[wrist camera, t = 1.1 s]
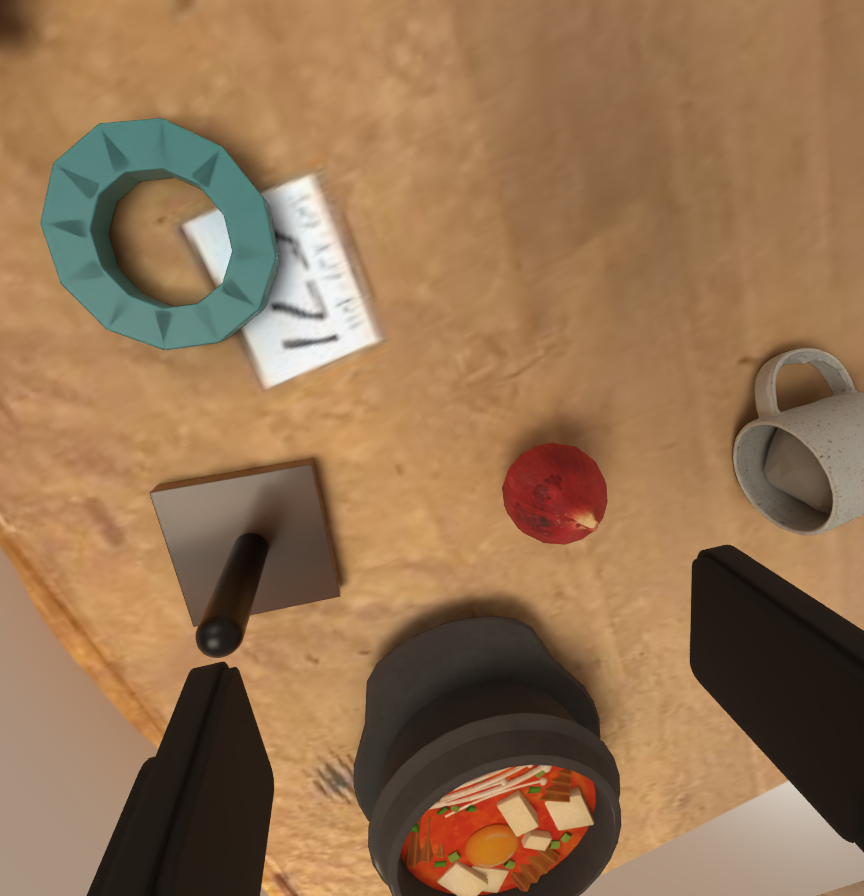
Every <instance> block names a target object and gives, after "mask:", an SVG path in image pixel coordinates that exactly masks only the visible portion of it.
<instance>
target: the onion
mask: <svg viewBox="0 0 864 896" xmlns="http://www.w3.org/2000/svg"><path fill="white" fill-rule="evenodd" d="M502 490H503V498H504V506H505V508H506V511H507V513H508V515H509V516H510V517H511V519H512V520H513V522H514V523H515V525H516V526H517V527H518V528H519V529H520V530H521V531H522V532H523V533H525V534H527V535H529V536H531V537H533V538H535V539H537V540H539V541H541V542H543V543H551V544H564V545H565V544H568V543H571V542H575V541H578V540H581V539H583V538H584V537H586V536H587V535H589V534H590V533H592V532H593V531H595V530H596V529H597V527H598V524H599V523H600V521H601V520H602V519H603V516H604V512H605V509H606V505H607V488H606V482H605V479H604V477H603V475H602V474H601V472H600V470H599V468H598V466H597V464H596V462H595V461H594V460H593V459H592V458H590V457H589V456H588V455H586V454H585V453H584V452H582V451H581V450H580V449H578V448H577V447H574V446H568V445H562V444H557V443H548V444H542V445H537V446H535V447H533V448H532V449H530V450H528V451H526V452H525V453H523V454H521V455H520V456H519V457H518V458H517V460H516V461H515V462H514V463H513V464H512V465H511V467H510V468H509V470H508V473H507V476H506V478H505V481H504V484H503V487H502Z"/></svg>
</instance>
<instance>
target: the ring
mask: <svg viewBox="0 0 864 896" xmlns="http://www.w3.org/2000/svg"><path fill="white" fill-rule="evenodd" d="M168 178H177V179H179V180H181V181H184V182H186V183H188V184H190V185H193V186H195V187H197V188H199V189H202V190H203V191H204V192H205V193H206V194H207V196H208V197H209V198H210V199H211V200H212V202H213V203H214V204H215V205H216V206H217V208H218V209H219V210H220V211H221V212H222V214H223V215H224V218H225V222H226V226H227V231H228V235H229V239H230V243H231V248H232V254H231V257H230V260H229V264H228V267H227V270H226V274H225V277H224V280H223V283H222V284H221V285H220V286H218V287H217V288H216V289H215V290H214V291H212V292H211V293H210V294H209V295H208V296H206V297H205V298H204V299H203V300H202V301H200V302H199V303H198V304H191V305H183V306H176V307H174V306H171V305H169V304H166V303H163V302H161V301H158V300H156V299H153V298H150V297H148V296H145V295H143V294H142V293H141V292H140V291H139V290H138V288H137V287H136V286H135V285H134V284H133V283H132V282H131V281H130V280H129V279H128V278H127V277H126V276H125V275H124V274H123V273H122V272H121V271H120V269H119V268H118V264H117V261H116V258H115V255H114V251H113V248H112V245H111V241H110V238H109V235H108V234H109V230H110V226H111V222H112V218H113V214H114V210H115V206H116V202H117V201H118V200H120V199H121V198H122V197H123V196H124V195H125V194H127V193H128V192H129V191H130V190H131V189H132V188H134V187H135V186H136V185H137V184H138V183H139V182H141V181H149V180H158V179H168ZM41 226H42V229H43V232H44V235H45V238H46V241H47V244H48V247H49V250H50V253H51V256H52V259H53V262H54V265H55V268H56V271H57V273H58V276H59V279H60V282H61V284H62V285H63V286H64V287H65V288H66V289H67V290H68V291H69V292H70V293H71V294H72V295H73V296H74V297H75V298H76V299H77V300H78V301H79V302H80V303H81V304H82V305H83V306H84V307H85V308H86V309H87V310H88V311H89V312H90V313H91V314H92V315H93V316H94V317H95V318H96V319H97V320H98V321H99V322H100V323H101V324H102V325H103V326H104V327H105V328H106V329H108V330H109V331H112V332H115V333H118V334H120V335H123V336H126V337H129V338H132V339H135V340H137V341H140V342H143V343H146V344H149V345H151V346H154V347H157V348H160V349H163V350H171V349H178V348H185V347H192V346H199V345H206V344H213V343H219V342H221V341H224V340H226V339H228V338H230V337H231V336H232V335H233V334H234V333H236V332H237V331H238V330H239V329H240V328H242V327H243V326H244V325H245V324H247V323H248V322H249V321H250V320H251V319H253V318H254V317H255V316H256V315H257V314H259V313H260V312H261V311H262V310H264V308H265V307H266V304H267V300H268V297H269V294H270V291H271V288H272V285H273V282H274V279H275V276H276V273H277V270H278V266H279V263H280V255H279V250H278V245H277V240H276V235H275V231H274V226H273V221H272V216H271V211H270V207H269V204H268V203H267V201H266V200H265V199H264V198H263V196H262V195H261V194H260V193H259V191H258V190H257V189H256V188H255V186H254V185H253V184H252V183H251V181H250V180H249V179H248V178H247V176H246V175H245V174H244V172H243V171H242V170H241V169H240V167H239V166H238V165H237V164H236V162H235V161H234V160H233V159H232V157H231V156H230V155H229V154H228V152H227V151H226V150H225V149H224V147H222V146H220V145H218V144H216V143H214V142H212V141H210V140H208V139H205V138H203V137H201V136H199V135H197V134H195V133H193V132H191V131H188V130H186V129H184V128H182V127H180V126H178V125H176V124H174V123H171V122H169V121H167V120H165V119H162V118H156V119H145V120H133V121H122V122H111V123H100V124H99V125H97V126H96V127H94V128H93V129H92V130H91V131H90V132H89V133H88V134H86V135H85V136H84V137H83V138H82V139H81V140H79V141H78V142H77V143H76V144H75V145H74V146H73V147H71V148H70V149H69V150H68V151H67V152H66V153H65V154H63V155H62V156H61V157H60V158H59V159H58V160H56V161H55V162H54V164H53V167H52V172H51V177H50V181H49V186H48V190H47V195H46V199H45V204H44V208H43V213H42V218H41Z"/></svg>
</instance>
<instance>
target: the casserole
mask: <svg viewBox="0 0 864 896" xmlns="http://www.w3.org/2000/svg"><path fill="white" fill-rule="evenodd" d="M354 789H355V793H356V796H357V800H358V804H359V806H360V808H361V809H362V811H363V813H364V814H365V816H366V818H367V820H368V821H369V822H370V824H369V830H368V848H369V852H370V855H371V859H372V863H373V866H374V867H375V869H376V871H377V872H378V874H379V875H380V877H381V879H382V880H383V881H384V882H385V883H386V884H387V885H388V886H389V889H390V891H391V893H392V895H393V896H579V895H581V894H582V893H583V892H584V891H585V890H586V889H587V888H588V887H589V886H590V885H591V884H592V883H593V882H594V881H595V880H596V879H597V878H598V877H599V875H600V874H601V872H602V871H603V869H604V868H605V867H606V865H607V864H608V862H609V861H610V859H611V857H612V854H613V852H614V850H615V848H616V845H617V843H618V839H619V834H620V829H621V809H620V804H619V796H620V777H619V772H618V769H617V766H616V763H615V759H614V757H613V756H612V754H611V753H610V751H609V750H608V748H607V746H606V745H605V743H604V742H603V741H601V740H600V723H599V717H598V714H597V711H596V707H595V704H594V702H593V700H592V698H591V697H590V695H589V694H588V692H587V691H586V689H585V687H584V686H583V685H582V684H581V683H580V682H578V681H577V680H576V679H575V678H574V677H573V676H572V675H571V674H570V673H569V672H567V671H566V670H565V669H564V668H563V667H562V666H561V665H560V664H558V663H557V662H556V661H555V660H554V659H553V657H552V656H551V654H550V653H549V651H548V650H547V649H546V647H545V646H544V644H543V643H542V641H541V640H540V639H539V637H538V636H537V634H536V633H535V631H534V630H533V629H532V627H530V626H528V625H526V624H525V623H523V622H521V621H519V620H517V619H514V618H506V617H498V616H487V617H473V618H466V619H462V620H457V621H453V622H449V623H445V624H441V625H439V626H436V627H434V628H431V629H429V630H427V631H424V632H422V633H420V634H417V635H415V636H414V637H412V638H410V639H409V640H407V641H405V642H404V643H402V644H401V645H399V646H397V647H396V648H394V649H393V650H392V651H391V652H389V653H388V654H387V655H386V656H385V657H384V658H383V659H382V660H381V661H380V662H378V663H377V664H376V666H375V668H374V670H373V672H372V673H371V675H370V677H369V679H368V681H367V692H366V715H365V726H364V730H363V733H362V737H361V741H360V744H359V748H358V752H357V756H356V759H355V763H354Z"/></svg>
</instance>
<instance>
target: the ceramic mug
mask: <svg viewBox="0 0 864 896" xmlns="http://www.w3.org/2000/svg"><path fill="white" fill-rule="evenodd" d="M793 363H797V364H801V365H802V364H806V363H810V364H811V365H813V366H814V367H815V368H817V369H818V370H819V371H820V373H821V374H822V376H824V377H825V379H826V381H827V383H828V385H829V387H830V390H831V392H832V395H833V396H832V397H827V398H824V399H821V400H818V401H815V402H813V403H810V404H807V405H804V406H799V407H795V408H791V409H788V410H786V411H781V412H780V411H779V409H778V407H777V397H776V378H777V374H778V372H779V371H780V369H781V367H782V365H785V364H793ZM754 394H755V403H756V409H757V413H758V419H756V420H754V421H752V422H749V423H748V424H747V425H746V426H744V427H743V428H742V429H741V431H740V432H739V433H738V435H737V437H736V439H735V443H734V447H733V464H734V469H735V473H736V476H737V479H738V482H739V485H740V486H741V488H742V490H743V492H744V493H745V495H746V497H747V498H748V500H749V501H750V503H751V504H752V505H753V506H754V507H755V508H756V509H757V510H758V511H759V512H760V513H761V514H762V515H763V516H764V517H765V518H767V519H768V520H769V521H770V522H772V523H773V524H775V525H776V526H778V527H780V528H782V529H784V530H786V531H789V532H792V533H795V534H799V535H817V534H822V533H825V532H827V531H829V530H832V529H834V528H836V527H838V526H840V525H842V524H844V523H846V522H848V521H851V520H853V519H855V518H857V517H860V516H862V515H864V392H858V391H856V390H855V388H854V384H853V382H852V379H851V377H850V375H849V374H848V372H847V370H846V368H845V367H844V366H843V365H842V364H841V363H840V361H839V360H838V359H837V358H836V357H834V356H832V355H831V354H829V353H827V352H825V351H822V350H819V349H814V348H800V349H795V350H791V351H788V352H786V353H783V354H780V355H778V356H776V357H774V358H772V359H770V360H769V361H768V362H766V363H765V364H764V365H763V366H762V368H761V369H760V371H759V373H758V375H757V377H756V381H755V385H754Z"/></svg>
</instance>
